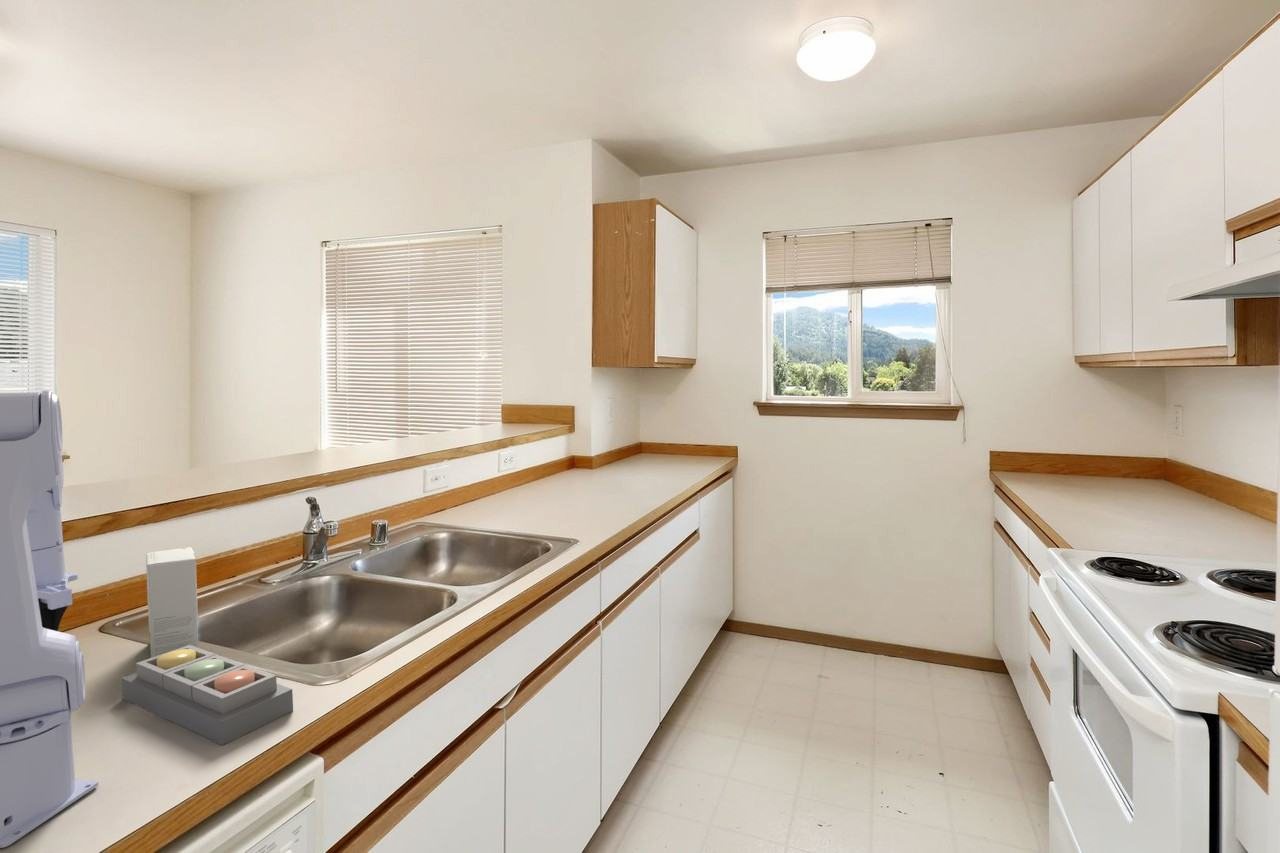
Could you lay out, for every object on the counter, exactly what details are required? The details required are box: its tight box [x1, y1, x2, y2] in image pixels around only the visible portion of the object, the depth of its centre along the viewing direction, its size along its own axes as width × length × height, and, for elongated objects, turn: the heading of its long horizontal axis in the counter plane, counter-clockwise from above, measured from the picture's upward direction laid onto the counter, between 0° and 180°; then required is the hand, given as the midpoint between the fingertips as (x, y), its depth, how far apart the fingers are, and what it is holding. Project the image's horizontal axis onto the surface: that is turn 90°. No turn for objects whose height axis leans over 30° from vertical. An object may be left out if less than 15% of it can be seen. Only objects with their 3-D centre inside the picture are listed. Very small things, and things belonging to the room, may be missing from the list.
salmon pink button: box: [214, 670, 255, 694], centre depth 82 cm, size 4×4×2 cm
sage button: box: [184, 659, 224, 681], centre depth 85 cm, size 4×4×2 cm
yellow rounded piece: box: [157, 649, 196, 670], centre depth 88 cm, size 4×4×2 cm
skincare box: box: [145, 546, 199, 658], centre depth 104 cm, size 8×7×16 cm
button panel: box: [121, 645, 294, 746], centre depth 85 cm, size 24×9×5 cm, turn 62°
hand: (39, 655), depth 77 cm, fingers closed
